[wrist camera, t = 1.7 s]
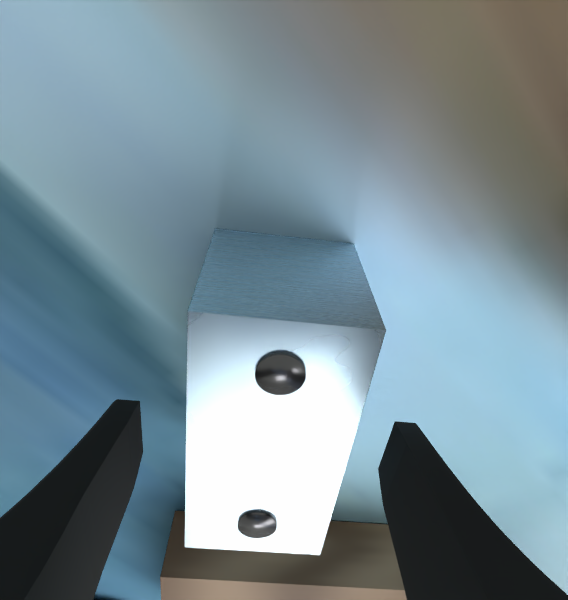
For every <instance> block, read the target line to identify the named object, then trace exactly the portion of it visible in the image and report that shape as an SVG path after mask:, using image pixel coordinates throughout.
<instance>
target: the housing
mask: <svg viewBox="0 0 568 600" xmlns="http://www.w3.org/2000/svg"><path fill="white" fill-rule="evenodd" d="M385 332H386V329H385V326H384V324H383V321H382V318H381V316H380V313H379V310H378V308H377V305H376V302H375V300H374V297H373V294H372V292H371V289H370V286H369V284H368V281H367V278H366V275H365V273H364V270H363V267H362V265H361V262H360V259H359V257H358V254H357V251H356V249H355V246H354V244H351V243H342V242H333V241H324V240H315V239H306V238H297V237H288V236H280V235H271V234H262V233H253V232H244V231H235V230H226V229H217V228H215V231H214V234H213V237H212V240H211V243H210V246H209V249H208V252H207V255H206V258H205V261H204V264H203V267H202V270H201V273H200V276H199V279H198V282H197V285H196V288H195V291H194V294H193V297H192V300H191V303H190V306H189V309H188V323H187V404H186V485H185V547H188V548H206V549H223V550H241V551H258V552H275V553H293V554H310V555H320V553H321V550H322V547H323V543H324V540H325V536H326V533H327V530H328V526H329V523H330V519H331V516H332V513H333V509H334V506H335V502H336V499H337V496H338V492H339V489H340V485H341V482H342V479H343V475H344V472H345V468H346V465H347V462H348V458H349V455H350V451H351V448H352V445H353V441H354V438H355V434H356V431H357V428H358V424H359V421H360V417H361V414H362V411H363V407H364V404H365V400H366V397H367V394H368V390H369V387H370V383H371V380H372V376H373V373H374V370H375V366H376V363H377V359H378V356H379V353H380V349H381V346H382V342H383V339H384V336H385Z"/></svg>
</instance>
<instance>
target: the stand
mask: <svg viewBox="0 0 568 600" xmlns="http://www.w3.org/2000/svg"><path fill="white" fill-rule="evenodd" d="M160 580H161V600H407V598H406V594H405V589H404V585H403V581H402V577H401V573H400V569H399V565H398V562H397V558H396V554H395V550H394V546H393V542H392V538H391V534H390V530H389V526H388V524H373V523H357V522H342V521H330V523H329V526H328V530H327V533H326V536H325V540H324V543H323V547H322V550H321V553H320V555H310V554H293V553H275V552H258V551H241V550H223V549H206V548H188V547H185V511H175V513H174V518H173V522H172V527H171V531H170V536H169V540H168V545H167V549H166V554H165V558H164V563H163V567H162V572H161V577H160Z"/></svg>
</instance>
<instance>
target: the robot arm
mask: <svg viewBox="0 0 568 600" xmlns="http://www.w3.org/2000/svg"><path fill="white" fill-rule="evenodd" d="M142 454H143V444H142V428H141V412H140V401H132V400H119V399H117V400H116V401H114V402H113V403H112V404H111V406H110V407H109V408H108V409H107V411H106V412H105V413H104V414H103V415H102V416H101V418H100V419H99V420H98V421H97V422H96V424H95V425H94V426H93V427H92V428H91V429H90V430H89V431H88V433H87V434H86V435H85V436H84V437H83V438H82V439H81V440H80V441H79V443H78V444H77V445H76V446H75V447H74V448H73V449H72V450H71V451H70V452H69V453H68V454H67V455H66V456H65V457H64V458H63V460H62V461H61V462H60V463H59V464H58V465H57V466H56V467H55V468H54V469H53V470H52V471H51V472H50V473H49V474H48V475H46V476H45V477H44V478H43V479H42V480H41V481H40V482H39V483H38V484H37V485H36V486H35V487H34V488H33V489H32V490H31V491H30V492H29V493H28V494H27V495H26V496H24V497H23V498H22V499H21V500H20V501H19V502H18V503H17V504H16V505H14V506H13V507H12V508H11V509H10V510H9V511H8V512H6V513H5V514H4V515H3V516H2V517H1V518H0V600H93V599H94V596H95V592H96V589H97V586H98V583H99V580H100V577H101V574H102V571H103V569H104V566H105V563H106V561H107V558H108V555H109V553H110V550H111V547H112V545H113V542H114V540H115V537H116V534H117V532H118V529H119V526H120V524H121V521H122V518H123V516H124V513H125V510H126V508H127V505H128V502H129V500H130V497H131V494H132V491H133V489H134V485H135V481H136V478H137V474H138V470H139V466H140V462H141V458H142ZM378 470H379V478H380V486H381V494H382V500H383V506H384V510H385V514H386V518H387V522H388V526H389V530H390V534H391V538H392V542H393V546H394V550H395V554H396V558H397V562H398V565H399V569H400V573H401V577H402V581H403V585H404V589H405V594H406V598H407V600H568V595H567V594H566V593H565V592H564V591H562V590H561V589H560V588H559V587H558V586H557V585H556V584H555V583H554V582H553V581H551V580H550V579H549V578H548V577H547V576H546V575H545V574H544V573H543V572H542V571H541V570H540V569H539V568H538V567H537V566H535V565H534V564H533V563H532V562H531V561H530V560H529V559H528V558H527V557H526V556H525V555H524V554H523V553H522V552H521V551H520V550H519V548H518V547H517V546H516V545H515V544H514V543H513V542H512V541H511V540H510V539H509V538H508V537H507V536H506V535H505V534H504V533H503V532H502V531H501V530H500V529H499V528H498V526H497V525H496V524H495V523H494V522H493V521H492V520H491V519H490V517H489V516H488V515H487V514H486V513H485V512H484V511H483V509H482V508H481V507H480V506H479V505H478V504H477V502H476V501H475V500H474V499H473V498H472V496H471V495H470V494H469V493H468V491H467V490H466V489H465V488H464V486H463V485H462V484H461V483H460V481H459V480H458V479H457V477H456V476H455V475H454V474H453V472H452V471H451V470H450V468H449V467H448V466H447V465H446V463H445V462H444V461H443V459H442V458H441V457H440V455H439V454H438V453H437V451H436V450H435V448H434V447H433V446H432V444H431V443H430V442H429V440H428V439H427V438H426V436H425V435H424V434H423V432H422V431H421V430H420V428H419V427H418V426H417V424H416V423H407V422H395V423H394V426H393V429H392V431H391V434H390V437H389V440H388V443H387V445H386V448H385V451H384V454H383V457H382V460H381V462H380V465H379V468H378Z"/></svg>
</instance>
